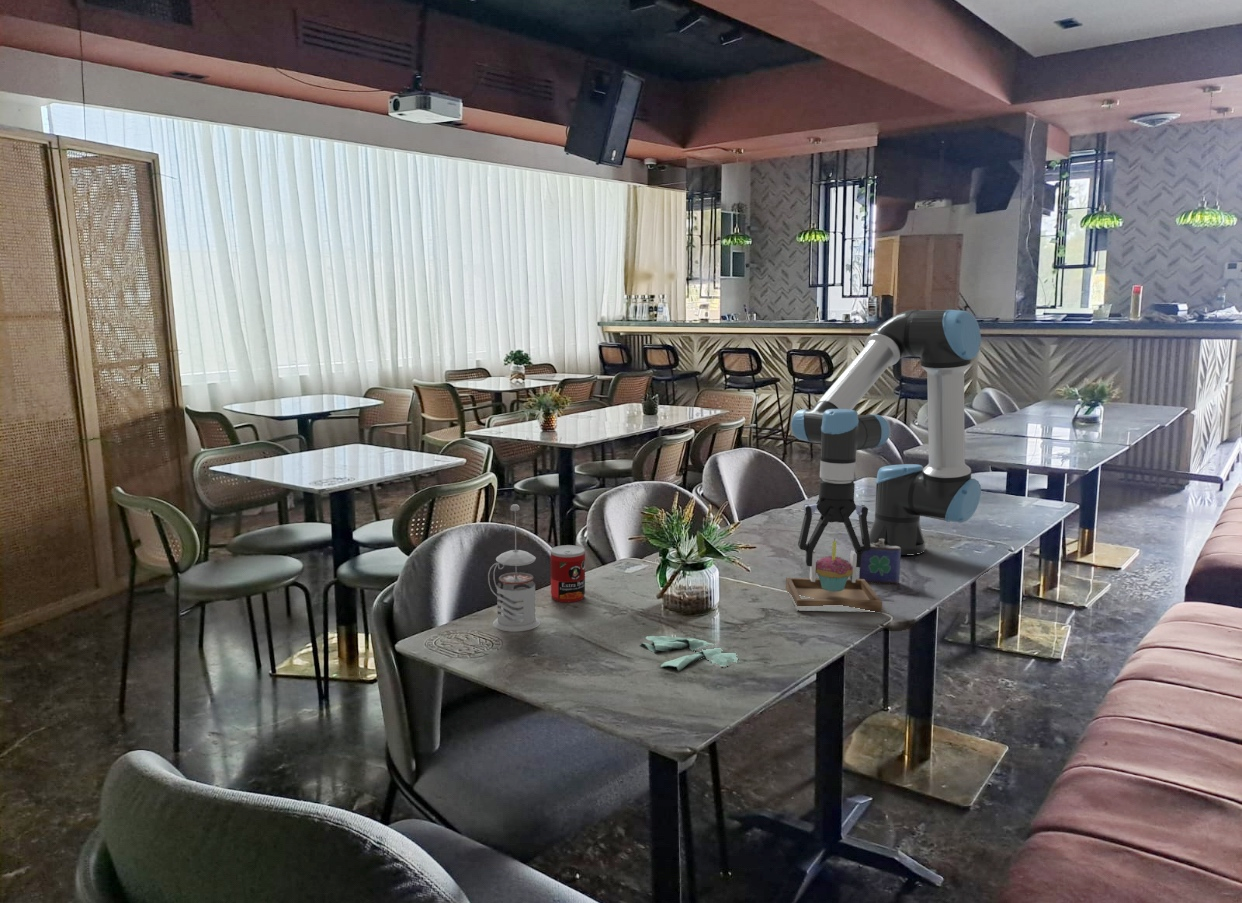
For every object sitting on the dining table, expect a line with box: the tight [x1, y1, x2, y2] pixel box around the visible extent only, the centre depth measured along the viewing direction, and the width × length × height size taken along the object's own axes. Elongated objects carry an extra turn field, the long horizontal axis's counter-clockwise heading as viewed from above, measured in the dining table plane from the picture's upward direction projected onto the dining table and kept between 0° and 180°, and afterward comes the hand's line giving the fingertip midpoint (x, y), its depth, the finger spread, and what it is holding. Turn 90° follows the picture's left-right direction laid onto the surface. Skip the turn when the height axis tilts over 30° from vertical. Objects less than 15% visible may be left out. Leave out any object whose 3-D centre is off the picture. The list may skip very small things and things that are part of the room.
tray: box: [785, 577, 883, 613], centre depth 194 cm, size 18×16×2 cm
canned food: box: [550, 544, 586, 603], centre depth 195 cm, size 8×8×11 cm
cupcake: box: [816, 538, 853, 591], centre depth 193 cm, size 9×8×12 cm
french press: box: [487, 503, 541, 632], centre depth 177 cm, size 10×12×25 cm
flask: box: [858, 538, 902, 585], centre depth 207 cm, size 9×3×11 cm, turn 74°
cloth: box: [639, 635, 738, 672], centre depth 163 cm, size 20×22×2 cm
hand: (832, 580), depth 193 cm, fingers closed on cupcake, 8 cm apart
